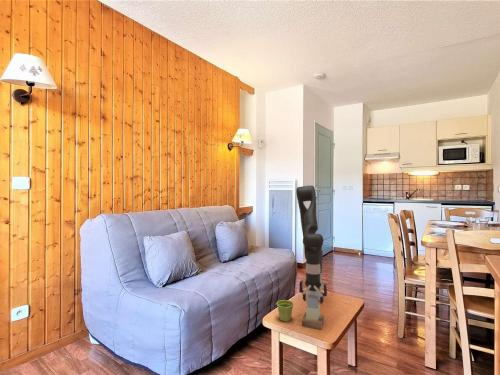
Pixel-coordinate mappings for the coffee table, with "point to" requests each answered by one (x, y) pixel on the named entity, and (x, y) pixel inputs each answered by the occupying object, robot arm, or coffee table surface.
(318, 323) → the walnut square pad
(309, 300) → the slate block
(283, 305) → the plant pot
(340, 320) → the coffee table surface
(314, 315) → the sage block
